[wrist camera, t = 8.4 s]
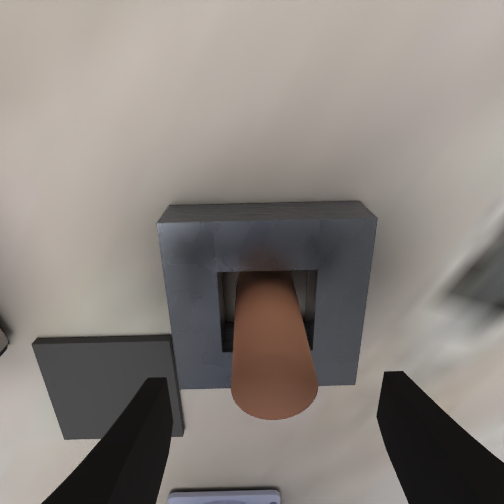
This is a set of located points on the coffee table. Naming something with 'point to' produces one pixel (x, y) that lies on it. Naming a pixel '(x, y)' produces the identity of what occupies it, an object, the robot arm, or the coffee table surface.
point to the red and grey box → (3, 342)
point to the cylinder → (270, 348)
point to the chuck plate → (266, 259)
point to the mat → (103, 379)
